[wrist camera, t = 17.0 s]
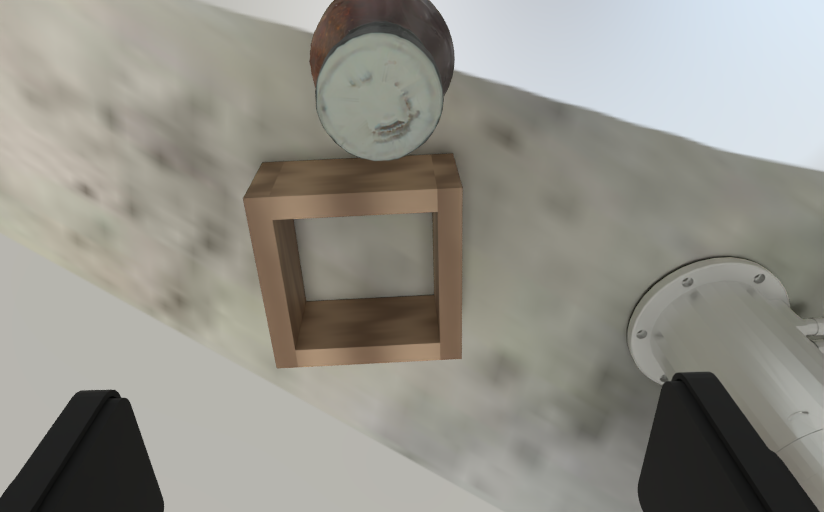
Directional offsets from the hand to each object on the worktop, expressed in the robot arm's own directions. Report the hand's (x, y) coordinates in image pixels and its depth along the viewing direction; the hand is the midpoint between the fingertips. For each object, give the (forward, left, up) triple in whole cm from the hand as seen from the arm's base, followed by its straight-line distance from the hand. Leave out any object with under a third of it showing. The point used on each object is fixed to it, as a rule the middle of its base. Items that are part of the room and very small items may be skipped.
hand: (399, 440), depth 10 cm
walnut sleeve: (+3, +12, -30) cm, 33 cm away
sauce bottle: (0, -3, -31) cm, 31 cm away
